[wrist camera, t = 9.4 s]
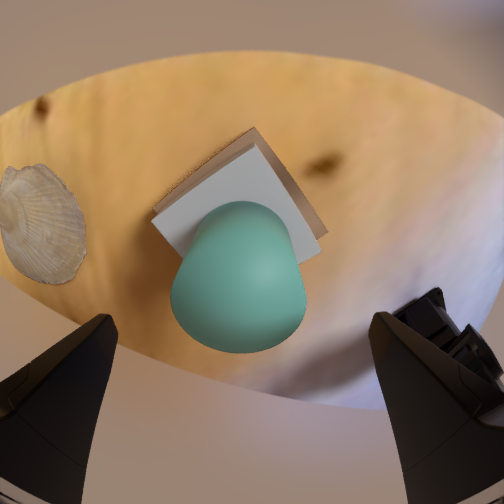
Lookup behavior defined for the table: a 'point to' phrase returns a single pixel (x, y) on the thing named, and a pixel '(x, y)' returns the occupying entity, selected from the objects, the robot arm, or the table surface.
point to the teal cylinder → (239, 281)
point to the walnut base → (277, 166)
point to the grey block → (229, 190)
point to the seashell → (41, 224)
